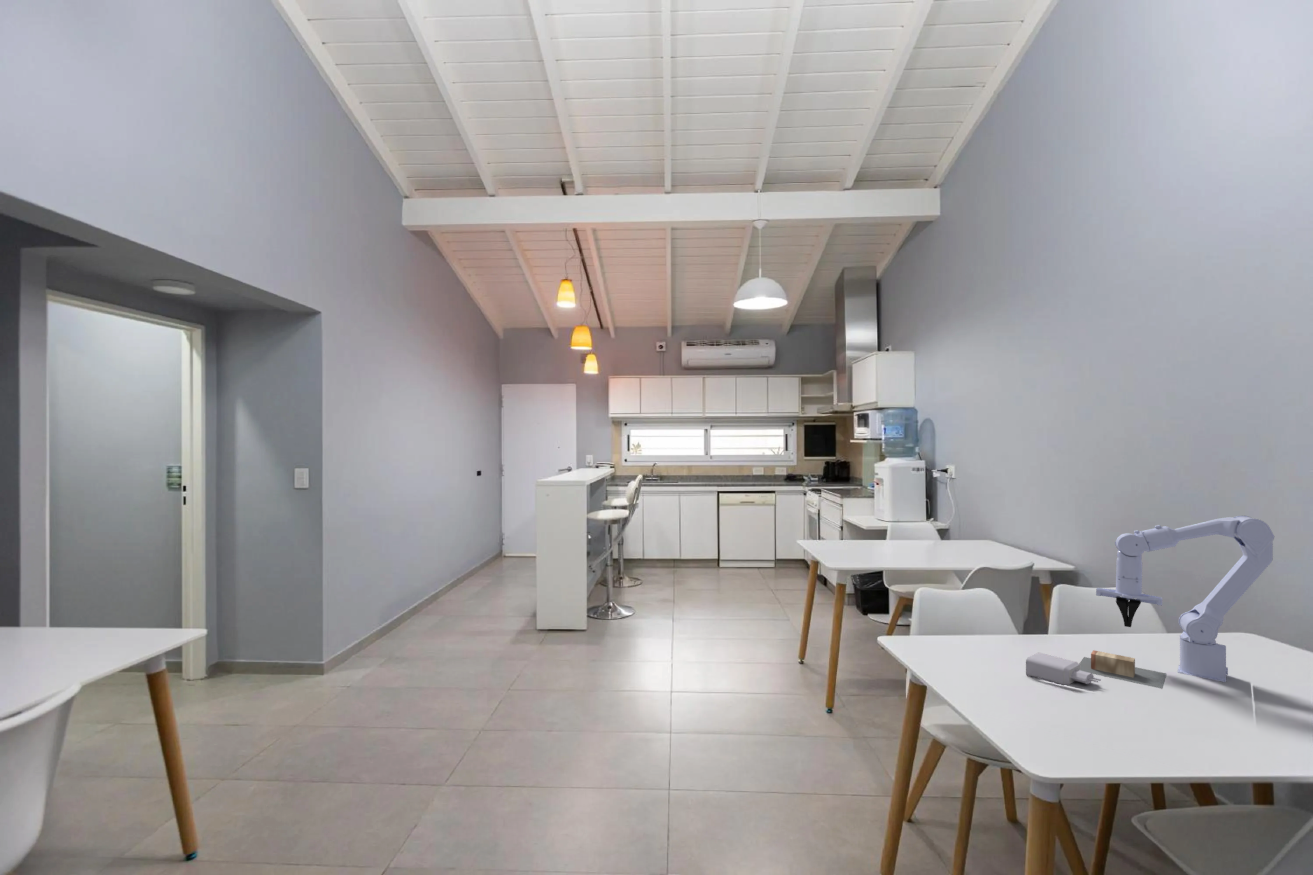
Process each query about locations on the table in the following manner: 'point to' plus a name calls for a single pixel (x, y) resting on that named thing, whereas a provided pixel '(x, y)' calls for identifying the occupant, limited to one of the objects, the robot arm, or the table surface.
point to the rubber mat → (1140, 676)
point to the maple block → (1113, 663)
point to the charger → (1057, 669)
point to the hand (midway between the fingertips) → (1127, 626)
